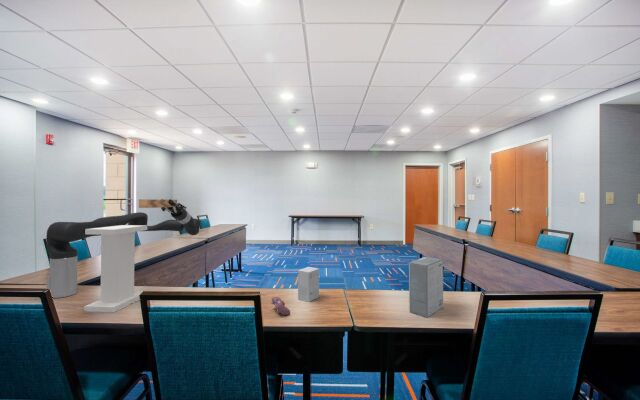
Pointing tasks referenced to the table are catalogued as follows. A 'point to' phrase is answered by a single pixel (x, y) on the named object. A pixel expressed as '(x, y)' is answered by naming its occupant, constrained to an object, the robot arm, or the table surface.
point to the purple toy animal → (280, 306)
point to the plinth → (116, 267)
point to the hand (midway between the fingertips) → (165, 200)
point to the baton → (154, 203)
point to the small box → (308, 284)
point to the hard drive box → (425, 286)
